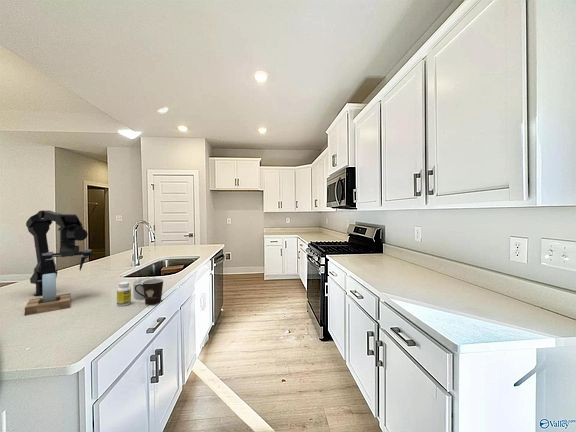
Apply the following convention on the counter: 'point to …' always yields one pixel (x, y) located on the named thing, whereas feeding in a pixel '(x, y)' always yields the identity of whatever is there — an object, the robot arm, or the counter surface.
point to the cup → (139, 288)
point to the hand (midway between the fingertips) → (67, 271)
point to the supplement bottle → (123, 294)
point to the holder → (47, 304)
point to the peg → (49, 287)
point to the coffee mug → (152, 291)
